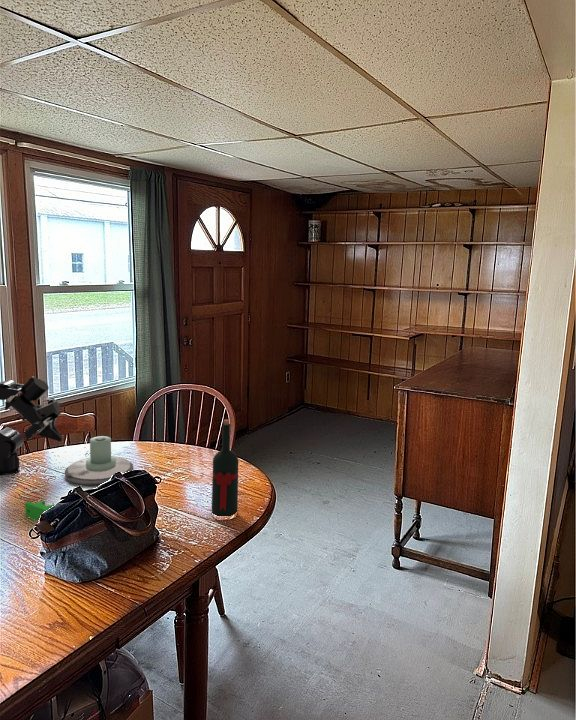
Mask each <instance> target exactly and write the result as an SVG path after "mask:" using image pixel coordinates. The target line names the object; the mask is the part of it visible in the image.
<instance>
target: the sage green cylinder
mask: <svg viewBox="0 0 576 720" xmlns="http://www.w3.org/2000/svg"><path fill="white" fill-rule="evenodd" d="M89 453H90V455H89V456H90V458H89V457H88V458H89V459H88V460H87V461H86V469H88V470H90V471H106V470H110V469H112V468H114V467H115V466H116V459H115V458H114V457H111V456H112V438H111V437H110V436H106V435H105V436H104V435H101V436H100V435H98V436H94V437H91V438H90V439H89Z"/></svg>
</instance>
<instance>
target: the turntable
mask: <svg viewBox="0 0 576 720" xmlns="http://www.w3.org/2000/svg"><path fill="white" fill-rule="evenodd" d="M111 457H114V458H115V459H116V466H115V467H114V468H112V469H110V470H106V471H90V470H88V469H86V461H87V460H88V459H89V458H90V457H85V458H82V459H79V460H76V461H74V462H73V463H70V465H69V466H67V467H66V468H65V470H64V478H65V480H66V482H68V483H70V484H72V485H76V486H80V485H82V486H81V487H99V486H98V485H100V484H102V483H104V482H106V481H108V480H109V479H110V478H111V476H112V475H113V474H114V473H116V472H122V473H125V472H128V471H132V470H133V471H134V464H133V463H132V461H129V460H128V459H127V458H124V457H120V456H115V455H111Z"/></svg>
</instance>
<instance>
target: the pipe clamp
mask: <svg viewBox="0 0 576 720" xmlns="http://www.w3.org/2000/svg"><path fill="white" fill-rule="evenodd" d="M45 502H46V501H45V500H41V501H39V502H36V503H34V502H31V501H26V502H24V509H25V510H24V511H25V514H24V515H25V516H24V517H26V516H27V517H26V518H28V517H30V518H32V519H31V520H33V519H35V520H34V521H36V520H37V521H36V522H38V520H39V518H40V515H41V514H42V513H43V512H44V511H46V510H48V509H49V508H51V507H52V506H54V505H55V506H56V504H55V503H52V504H50V505H49V504H48V505H46V503H45ZM30 518H29V519H30Z"/></svg>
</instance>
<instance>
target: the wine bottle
mask: <svg viewBox="0 0 576 720" xmlns="http://www.w3.org/2000/svg"><path fill="white" fill-rule="evenodd" d="M221 445H222V447H221V449H220V450H219V451H217V452H216V454H215V455H214V456H213V458H212V479H211V480H212V483H211V486H212V487H211V488H212V489H211V514H212V513H213V514H215V515H217V516H231V515H233V514H235V513H236V512H237V513H238V510H239V509H238V506H239V504H238V503H239V501H238V498H239V497H238V495H239V458H238V456H237V455H238V454H236V453H235V452H234V451H233V450H231V447H230V445H231V423H230V419H228V418H226V419H223V423H222V441H221Z"/></svg>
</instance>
